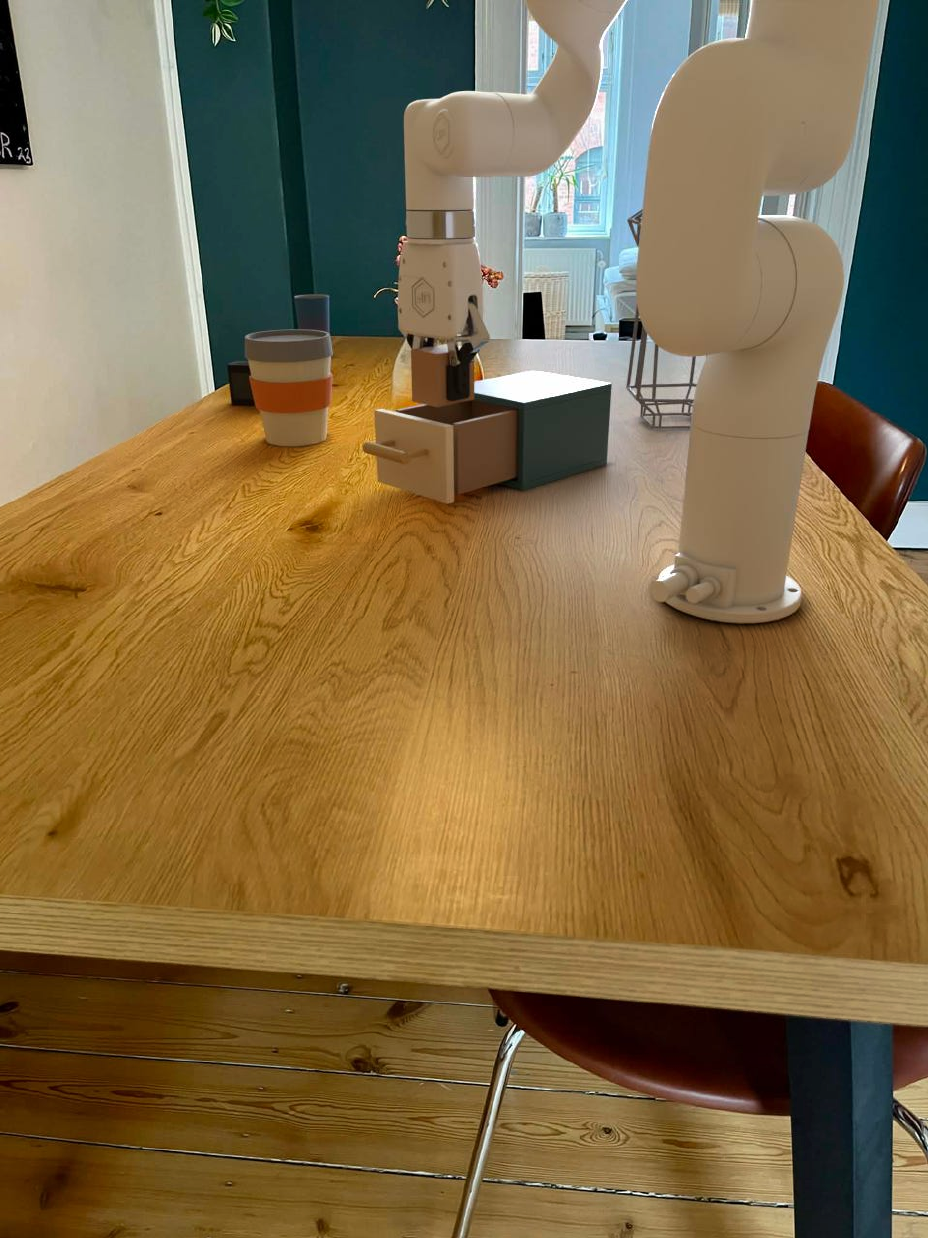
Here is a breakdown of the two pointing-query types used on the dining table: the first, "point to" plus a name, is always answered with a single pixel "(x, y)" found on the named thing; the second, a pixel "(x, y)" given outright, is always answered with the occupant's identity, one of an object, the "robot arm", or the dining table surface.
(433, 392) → the snack box
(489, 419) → the drawer
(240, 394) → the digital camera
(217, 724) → the dining table surface
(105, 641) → the dining table surface
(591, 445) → the cabinet
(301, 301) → the cup
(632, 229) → the geometric lantern
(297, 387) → the reusable coffee cup
